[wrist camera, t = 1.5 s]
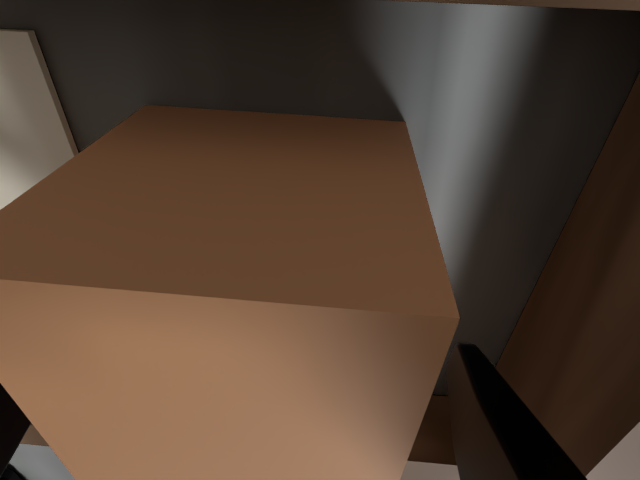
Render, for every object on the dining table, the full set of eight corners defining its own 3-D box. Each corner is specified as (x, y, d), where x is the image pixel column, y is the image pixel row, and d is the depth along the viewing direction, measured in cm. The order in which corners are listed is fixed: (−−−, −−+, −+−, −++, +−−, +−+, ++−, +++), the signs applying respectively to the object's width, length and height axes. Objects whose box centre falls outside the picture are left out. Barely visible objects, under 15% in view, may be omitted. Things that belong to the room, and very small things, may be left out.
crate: (198, 329, 14) (114, 529, 9) (147, 103, 9) (-86, 272, 4) (366, 344, 14) (371, 557, 9) (404, 120, 9) (460, 318, 4)
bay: (5, 378, 17) (-92, 497, 13) (-396, -142, 7) (-1185, -240, 3) (507, 423, 16) (552, 564, 12) (831, -111, 6) (1519, -201, 2)
